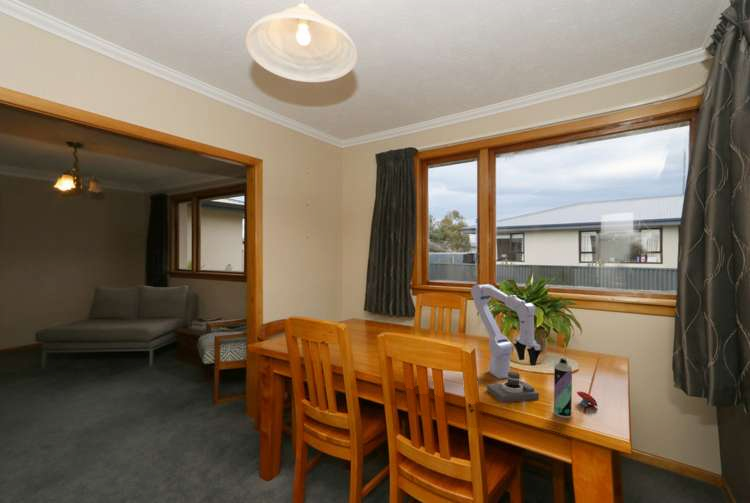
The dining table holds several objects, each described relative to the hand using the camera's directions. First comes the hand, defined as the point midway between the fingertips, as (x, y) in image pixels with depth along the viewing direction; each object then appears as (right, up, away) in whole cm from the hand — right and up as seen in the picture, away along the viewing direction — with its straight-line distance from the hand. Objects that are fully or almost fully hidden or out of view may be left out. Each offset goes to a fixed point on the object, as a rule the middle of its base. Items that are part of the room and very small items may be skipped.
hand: (527, 362), depth 145 cm
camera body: (-11, -10, -10) cm, 17 cm away
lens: (-10, -7, -10) cm, 16 cm away
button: (+14, -10, -19) cm, 26 cm away
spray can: (+1, -10, -26) cm, 28 cm away
